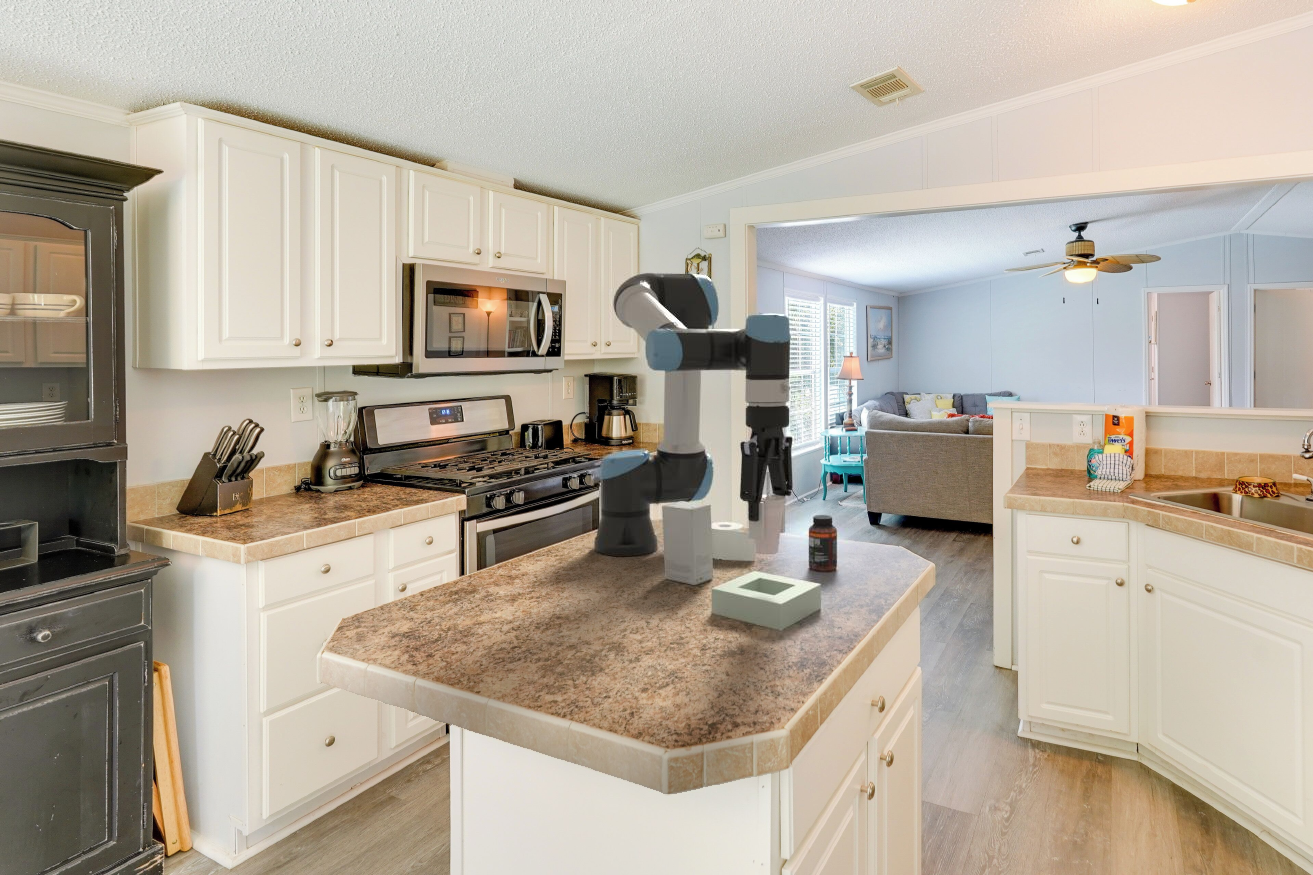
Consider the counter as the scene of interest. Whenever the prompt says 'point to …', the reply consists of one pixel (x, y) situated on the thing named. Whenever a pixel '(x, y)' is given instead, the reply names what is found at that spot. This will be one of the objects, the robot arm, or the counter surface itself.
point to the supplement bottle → (822, 544)
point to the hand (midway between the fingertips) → (767, 535)
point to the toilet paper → (732, 542)
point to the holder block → (766, 599)
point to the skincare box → (687, 542)
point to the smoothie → (771, 521)
